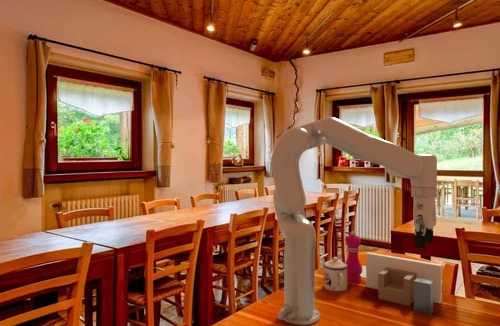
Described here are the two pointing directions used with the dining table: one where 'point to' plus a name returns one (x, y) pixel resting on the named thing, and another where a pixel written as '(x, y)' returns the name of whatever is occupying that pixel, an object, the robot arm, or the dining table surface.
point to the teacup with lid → (335, 275)
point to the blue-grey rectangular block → (423, 296)
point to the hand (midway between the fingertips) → (424, 244)
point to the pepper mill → (353, 258)
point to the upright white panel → (401, 277)
